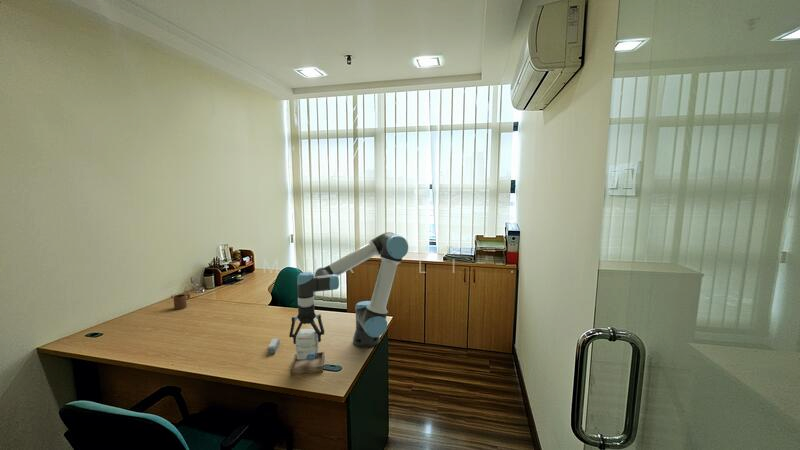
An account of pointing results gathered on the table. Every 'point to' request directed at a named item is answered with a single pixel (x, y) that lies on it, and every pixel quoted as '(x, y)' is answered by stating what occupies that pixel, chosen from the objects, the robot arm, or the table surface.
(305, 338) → the ink box
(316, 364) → the tray
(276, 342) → the grey rectangular block
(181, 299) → the mug
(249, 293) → the table surface
